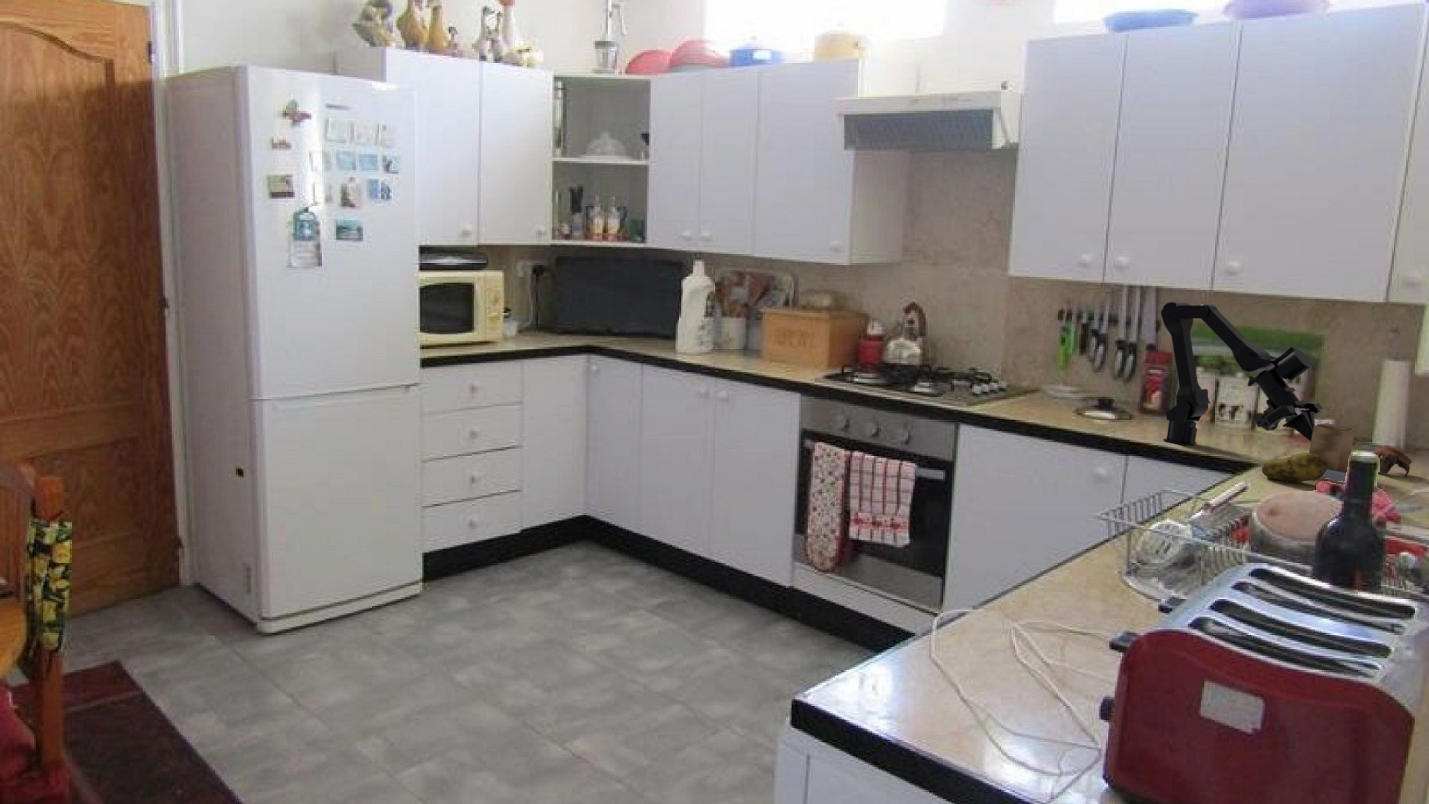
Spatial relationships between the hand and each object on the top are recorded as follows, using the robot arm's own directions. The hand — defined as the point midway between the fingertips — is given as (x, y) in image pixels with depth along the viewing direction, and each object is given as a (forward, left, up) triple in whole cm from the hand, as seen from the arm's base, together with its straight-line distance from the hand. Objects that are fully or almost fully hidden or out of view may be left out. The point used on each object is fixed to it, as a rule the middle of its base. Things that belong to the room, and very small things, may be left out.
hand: (1315, 441), depth 257 cm
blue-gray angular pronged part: (+2, 0, -8) cm, 8 cm away
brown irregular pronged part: (+9, +20, -8) cm, 24 cm away
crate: (+4, 0, -8) cm, 9 cm away
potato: (+4, -18, -8) cm, 20 cm away
